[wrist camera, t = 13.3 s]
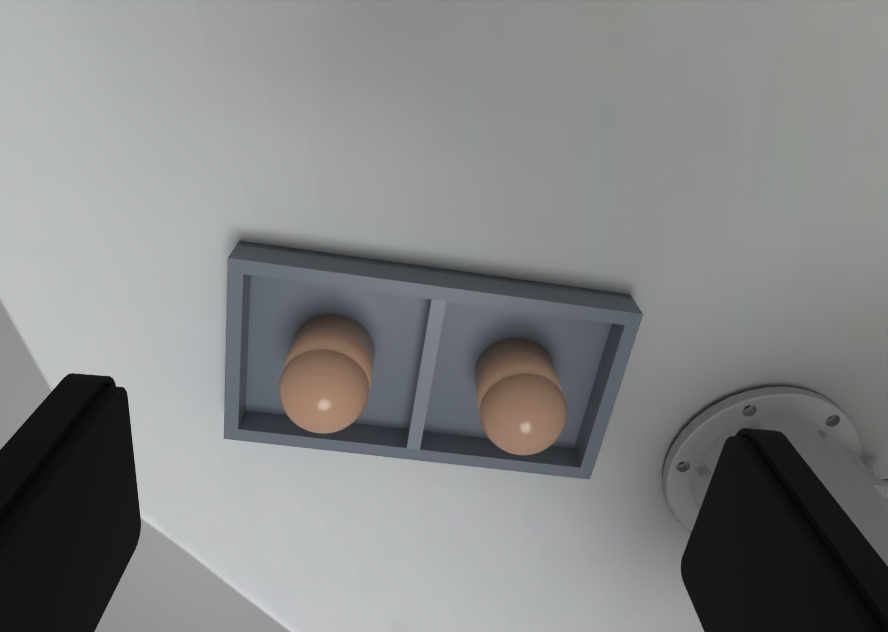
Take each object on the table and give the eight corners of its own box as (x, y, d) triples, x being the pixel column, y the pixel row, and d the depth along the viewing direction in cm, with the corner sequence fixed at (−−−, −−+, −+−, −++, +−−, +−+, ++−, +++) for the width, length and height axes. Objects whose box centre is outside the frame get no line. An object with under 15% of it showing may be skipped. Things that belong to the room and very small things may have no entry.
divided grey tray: (630, 295, 40) (642, 314, 38) (581, 454, 45) (589, 479, 43) (239, 241, 38) (227, 257, 35) (234, 414, 43) (223, 438, 41)
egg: (378, 319, 39) (370, 379, 34) (370, 389, 42) (361, 456, 36) (294, 309, 39) (271, 368, 33) (290, 380, 41) (268, 447, 35)
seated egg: (562, 343, 40) (584, 404, 35) (543, 410, 43) (562, 478, 37) (482, 333, 40) (492, 392, 34) (468, 401, 42) (475, 468, 36)
